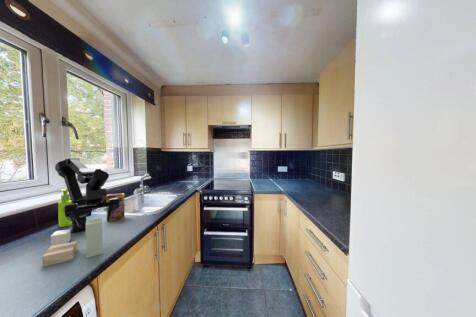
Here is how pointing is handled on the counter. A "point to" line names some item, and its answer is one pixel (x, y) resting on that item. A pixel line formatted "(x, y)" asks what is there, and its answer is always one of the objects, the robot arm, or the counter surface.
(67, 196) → the soap dispenser
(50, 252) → the oak base block
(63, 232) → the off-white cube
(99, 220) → the sage pillar
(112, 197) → the candy box
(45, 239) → the counter surface
